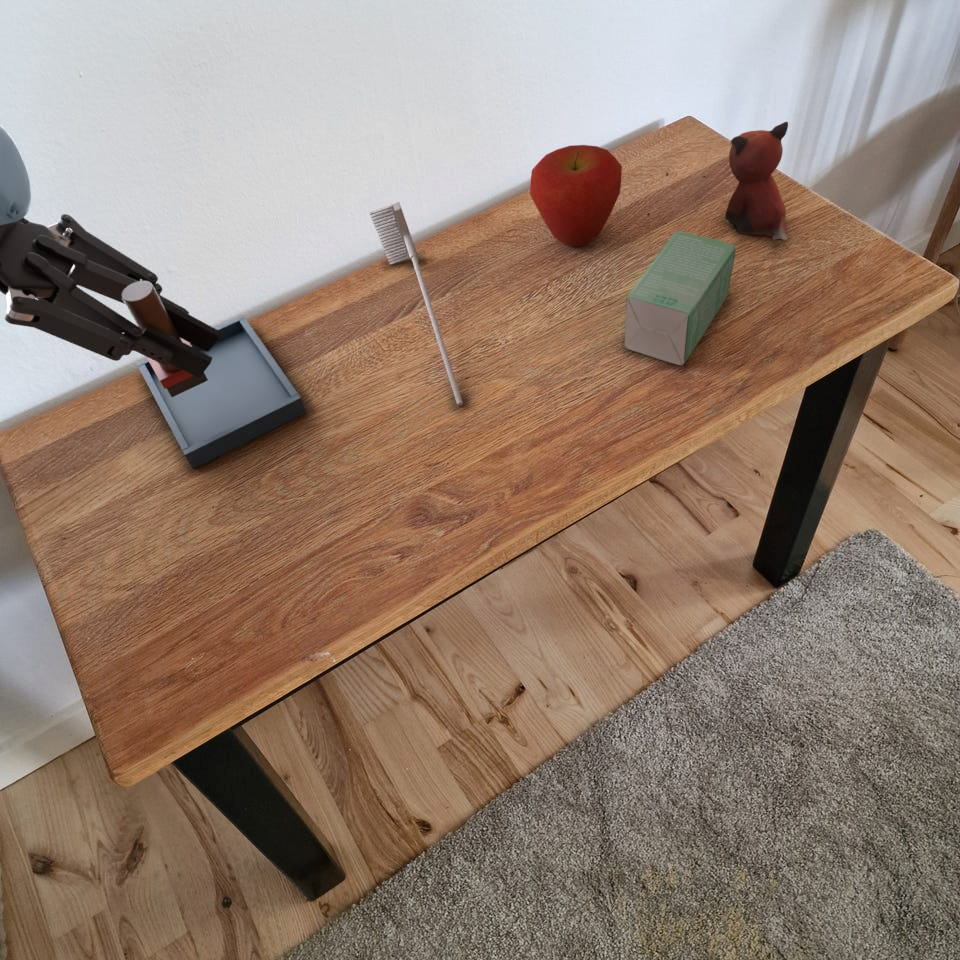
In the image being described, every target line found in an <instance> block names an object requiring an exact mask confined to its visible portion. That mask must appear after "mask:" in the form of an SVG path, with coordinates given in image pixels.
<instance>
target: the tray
mask: <svg viewBox="0 0 960 960" xmlns="http://www.w3.org/2000/svg"><path fill="white" fill-rule="evenodd" d="M214 328H215V329H217V330H219V331H220V332H221V334H220V337H219V338H218V340H217V341H216V342H215V344H214V345H213V346H212V348H211V349H210V350H209V352H207V351H205V350H203V349H201V348H199V347H197V346H195V345H193V344H191V343H190V344H191V346H192V347H193V348H195V349H197V350H199V351H201V352H202V353H204V354H206V355H208V356H210V357H212V361H211V363H210V365H209V366H208V367H207V369H206V370H205V371H204V373H205V375H206V377H207V379H208V381H206V382H204V383H202V384H199V385H197V386H195V387H193V388H191V389H189V390H187V391H185V392H182V393H180V394H178V395H176V396H174V397H171V396H170V394H169V392H168V390H167V389H164V388H163V386H162V384H161V382H160V381H159V379H158V377H157V375H156V373H155V371H154V369H153V368H152V366H151V364H150V362H149V360H148V358H147V357H146V358H145V359H142V360H140V361H137V362H136V366H137V367H138V369H139V372H140V373H141V375H142V377H143V379H144V381H145V382H146V383H145V384H147V387H148V389H149V390H150V393H151V394H152V396H153V398H154V400H155V402H156V403H157V405H158V407H159V409H160V411H161V413H162V415H163V418H164V419H165V421H166V423H167V425H168V427H169V429H170V430H171V432H172V434H173V436H174V438H175V440H176V442H177V444H178V446H179V447H180V449H181V451H182V453H183V455H184V456H185V457H184V458H186V460H187V462H188V464H189V465H190V467H191V468H192V469H196V468H197V467H199V466H202V465H203V464H205V463H207V462H209V461H211V460H213V459H215V458H217V457H219V456H222V455H223V454H225V453H227V452H229V451H231V450H233V449H235V448H237V447H240V446H241V445H244V444H246V443H248V442H250V441H252V440H253V439H255V438H258V437H260V436H262V435H263V434H265V433H267V432H269V431H272V430H273V429H275V428H278V427H280V426H282V425H284V424H285V423H287V422H290V421H291V420H293V419H295V418H298V417H299V416H302V415H304V414H306V413H307V409H306V405H305V404H304V402H303V401H304V400H303V398H302V397H301V395H300V394H299V392H298V391H297V390H296V388H295V387H294V385H293V384H292V383H291V381H290V380H289V378H288V376H287V375H286V374H285V373H284V371H283V370H282V368H281V367H280V365H279V364H278V362H277V361H276V359H275V358H274V357H273V355H272V354H271V352H270V351H269V350H268V348H267V347H266V345H265V344H264V343H263V341H262V340H261V338H260V337H259V335H258V334H257V333H256V331H255V330H254V328H253V327H252V325H251V324H250V322H249V321H248V319H247V318H246V317H245V316H244V314H242V315H239V316H237V317H235V318H232V319H230V320H228V321H226V322H224V323H222V324H219V325H217V326H216V327H214Z"/></svg>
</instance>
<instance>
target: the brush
mask: <svg viewBox="0 0 960 960" xmlns="http://www.w3.org/2000/svg"><path fill="white" fill-rule="evenodd" d="M369 215H370V218H371V221H372V223H373V225H374V228H375V230H376V233H377V236H378V238H379V240H380V244H381V245H382V248H383V251H384V253H385V256H386V257H387V260H388V263H389V266H392V265H395V264H399V263H402V262H404V261H407V260H410V261H411V262H412V265H413V268H414V271H415V274H416V277H417V280H418V283H419V287H420V290H421V294H422V296H423V301H424V304H425V305H426V306H425V307H426V309H427V313H428V315H429V320H430V322H431V325H432V328H433V331H434V334H435V339H436V342H437V345H438V348H439V351H440V354H441V357H442V360H443V363H444V366H445V370H446V373H447V376H448V379H449V383H450V386H451V389H452V392H453V395H454V399H455V402H456V405H457V406H458V407H461V406H463V405H464V402H463V400H462V396H461V393H460V390H459V387H458V384H457V380H456V377H455V374H454V371H453V367H452V365H451V362H450V359H449V355H448V352H447V349H446V346H445V343H444V340H443V337H442V333H441V330H440V327H439V324H438V321H437V318H436V315H435V311H434V308H433V306H432V302H431V299H430V295H429V292H428V289H427V287H426V283H425V280H424V276H423V273H422V270H421V267H420V264H419V263H420V258H419V255H418V253H417V252H418V251H417V249H416V246H415V244H414V240H413V237H412V235H411V232H410V229H409V226H408V224H407V220H406V218H405V214H404V211H403V209H402V206H401V203H400V201H398V202H395V203H390V204H389V205H387V206H384V207H381V208H378V209H375V210H373V211H370V212H369Z"/></svg>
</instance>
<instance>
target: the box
mask: <svg viewBox="0 0 960 960" xmlns="http://www.w3.org/2000/svg"><path fill="white" fill-rule="evenodd" d="M734 244H735V243H734ZM734 244H733V243H729V242H726V241H722V240H719V239H715V238H710V237H707V236H704V235H699V234H694V233H691V232H686V231H683V230H682V231H675V232H673V234H672V235H671V237H670V238H669V239H668V240H667V242H666V243H665V244H664V246H663V248H662V249H661V250H660V252H659V253H658V254H657V255H656V256H655V259H653V261H652V262H651V264H650V265H649V266H648V267H647V269H646V270H645V271H644V273H643V274H642V275H641V277H640V278H639V279H638V280H637V281H636V283H635V284H634V285H633V286H632V288H631V289H630V291H629V293H628V294H627V296H626V303H625V304H626V305H625V308H626V309H625V326H624V343H623V344H624V345H623V346H624V347H625V348H626V349H627V350H630V351H633V352H635V353H638V354H641V355H644V356H648V357H649V358H650V357H651V358H654V359H656V360H660V361H663V362H666V363H669V364H673V365H677V366H684V364H685V363H686V362H687V360H688V359H689V357H690V356H691V354H692V353H693V351H694V350H695V348H696V347H697V346H698V344H699V342H700V341H701V340H702V338H703V337H704V335H705V333H706V332H707V330H708V329H709V327H710V325H711V324H712V322H713V320H714V319H715V317H716V316H717V314H718V312H719V311H720V309H721V308H722V306H723V304H724V303H725V301H726V300H727V298H728V297H729V294H730V286H731V279H732V274H733V270H734V269H733V268H734V263H735V257H736V251H737V248H736V246H735V245H734Z"/></svg>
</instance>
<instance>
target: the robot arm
mask: <svg viewBox="0 0 960 960" xmlns="http://www.w3.org/2000/svg"><path fill="white" fill-rule="evenodd" d="M29 174H30V173H29V171H28V168H27V166H26V162H25V160H24V158H23V156H22V153H21V151H20V149H19V147H18V145H17V143H16V142H15V140H14V139H13V137H12V135H11V134H10V133H9V132H8V130H7V129H5V127H4V126H2V124H0V293H2V294H3V295H4V296H6V302H7V309H6V311H5V314H4V316H3V317H4V320H5V321H6V322H7V323H8V324H10V325H16V326H22V327H30V328H34V329H36V330H38V331H41V332H43V333H46V334H49V335H50V336H54V337H55V338H58V339H60V340H63V341H65V342H68V343H70V344H73V345H75V346H78V347H80V348H82V349H85V350H87V351H90V352H92V353H95V354H97V355H99V356H102V357H104V358H107V359H109V360H112V361H115V362H117V361H118V362H119V361H120V360H121V359H122V357H124V356H129V355H131V353H132V352H136V353H138V354H140V355H142V356H144V357H146V358H147V357H148V358H150V359H152V360H154V361H156V362H158V363H160V364H165V365H167V364H168V363H170V364H172V365H174V366H176V367H178V368H180V369H182V370H184V371H186V372H188V373H190V374H192V375H194V376H196V377H198V378H200V376H201V375H202V374H203V372H204V371H205V370H206V369H207V367H208V366H209V365H210V363H211V361H212V357H210V356H208V355H206V354H204V353H202V352H201V351H199V350H197V349H195V348H193V347H191V346H189V345H187V344H185V343H183V342H181V341H179V340H177V339H175V338H174V337H172V336H170V335H168V334H166V333H164V332H162V331H160V330H158V329H156V328H154V327H152V326H150V325H147V327H146V328H145V330H144V331H142V329H141V328H140V327H138V326H137V324H136V323H135V322H134V323H133V321H130V320H129V319H127V318H126V317H125V316H122V315H121V314H120V313H118V312H117V311H116V310H114V309H112V308H110V307H109V306H107V305H106V304H104V303H103V302H101V301H100V300H98V299H96V298H95V297H94V296H92V295H90V294H89V293H88V292H86V291H85V290H83V289H87V290H88V291H91V292H94V293H97V294H99V295H101V296H103V297H106V298H109V299H111V300H114V301H117V302H119V303H121V304H124V305H126V304H125V303H124V301H123V299H122V296H121V294H122V291H123V290H124V289H125V288H126V287H127V286H128V285H130V284H132V283H134V282H138V281H148V282H150V283H152V284H153V286H154V288H155V290H156V292H157V294H158V296H159V298H160V300H161V302H162V304H163V305H164V307H165V309H166V311H167V313H168V315H169V317H170V319H171V321H172V323H173V325H174V327H175V329H176V331H177V333H178V335H179V337H180V338H182V339H184V340H186V341H188V342H189V343H191V344H193V345H195V346H197V347H199V348H201V349H203V350H205V351H207V352H209V350H210V349H211V348H212V346H213V345H214V344H215V342H216V341H217V340H218V338H219V337H220V334H221V332H220V331H219V330H217V329H215V327H213V326H211V325H210V324H208V323H206V322H204V321H201V320H200V319H198V318H196V317H194V316H192V315H190V312H189V310H187V309H186V308H184V307H182V306H181V305H179V304H177V303H175V302H174V301H172V300H170V299H168V298H166V297H164V296H163V295H161V293H162V292H163V287H162V286H161V285H160V283H158V280H159V278H158V277H159V276H158V275H157V274H155V272H153V271H151V270H150V269H148V268H146V267H145V266H143V265H142V264H140V263H139V262H137V261H136V260H134V259H133V258H130V257H129V256H127V255H125V254H124V253H122V252H121V251H119V250H117V249H116V248H114V247H113V246H112V245H109V244H108V243H106V242H104V241H103V240H102V239H100V238H98V237H97V236H95V235H93V234H92V233H91V232H88V231H87V230H86V229H85V228H84V226H82V225H81V224H80V223H79V222H78V221H77V220H76V219H75V218H73V216H71V215H70V214H66V213H63V214H62V215H60V217H59V220H58V222H55V223H52V224H50V225H48V226H47V225H45V224H43V223H40V222H35V221H31V220H28V219H26V218H25V216H27V214H28V212H29V210H30V207H31V205H32V184H31V179H30V175H29ZM78 286H79V287H78ZM80 287H82V288H83V289H81V288H80Z"/></svg>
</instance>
